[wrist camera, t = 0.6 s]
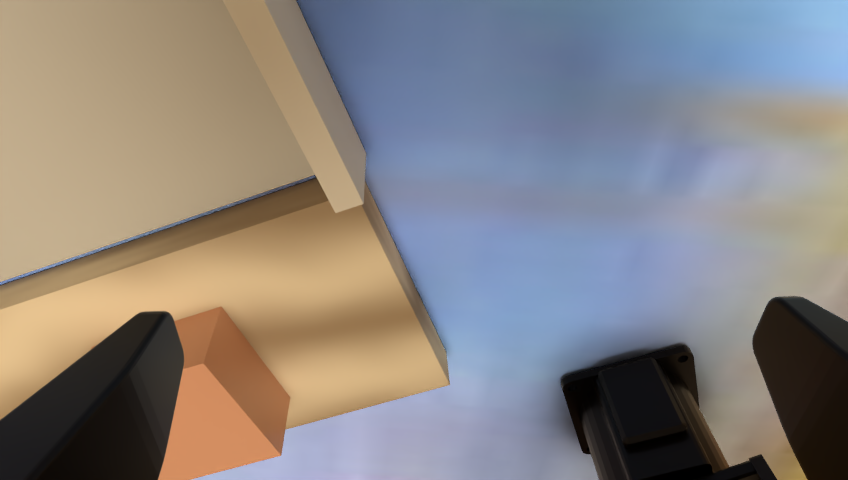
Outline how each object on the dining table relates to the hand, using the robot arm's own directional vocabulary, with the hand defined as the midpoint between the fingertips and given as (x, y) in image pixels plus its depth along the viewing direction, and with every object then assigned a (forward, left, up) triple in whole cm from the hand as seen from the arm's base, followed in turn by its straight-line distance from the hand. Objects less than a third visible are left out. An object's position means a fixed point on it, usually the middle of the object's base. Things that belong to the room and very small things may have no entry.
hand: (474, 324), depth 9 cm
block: (-10, +14, -12) cm, 21 cm away
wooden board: (-9, +14, -14) cm, 22 cm away
